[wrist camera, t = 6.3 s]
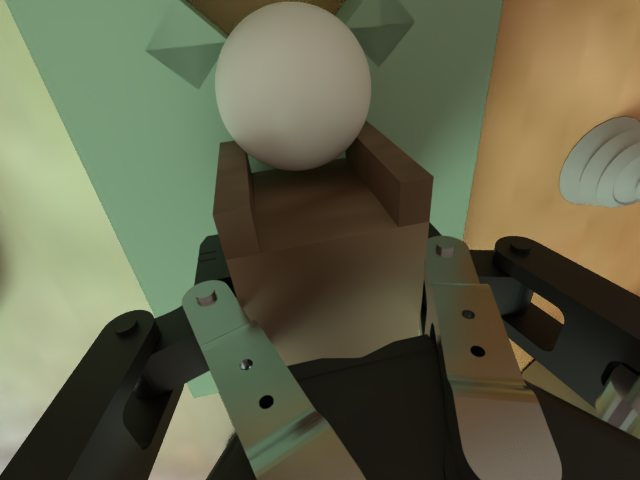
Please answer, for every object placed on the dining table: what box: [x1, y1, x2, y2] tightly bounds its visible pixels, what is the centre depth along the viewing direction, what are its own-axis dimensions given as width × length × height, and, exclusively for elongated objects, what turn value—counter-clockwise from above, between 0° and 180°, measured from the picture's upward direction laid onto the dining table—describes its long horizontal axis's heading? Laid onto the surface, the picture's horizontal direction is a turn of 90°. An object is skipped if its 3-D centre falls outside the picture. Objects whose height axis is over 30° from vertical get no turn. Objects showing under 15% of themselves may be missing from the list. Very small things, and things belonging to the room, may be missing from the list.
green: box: [5, 0, 503, 398], centre depth 14 cm, size 15×24×4 cm, turn 5°
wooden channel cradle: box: [213, 121, 434, 366], centre depth 12 cm, size 5×6×5 cm
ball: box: [215, 1, 371, 171], centre depth 10 cm, size 4×4×4 cm
